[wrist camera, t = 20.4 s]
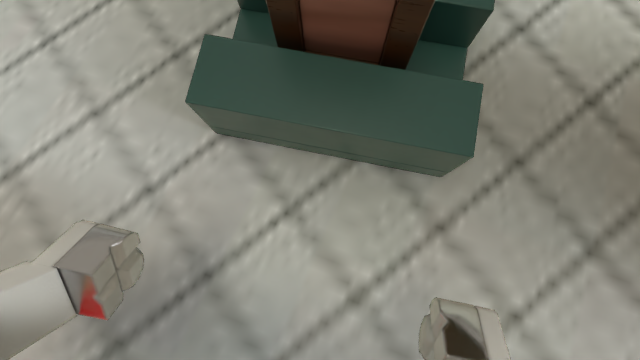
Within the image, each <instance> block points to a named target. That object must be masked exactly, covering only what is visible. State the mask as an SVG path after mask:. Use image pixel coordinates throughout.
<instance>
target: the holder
mask: <svg viewBox="0 0 640 360" xmlns="http://www.w3.org/2000/svg"><path fill="white" fill-rule="evenodd" d="M238 3H239V5H240V8H241V10H240V14H239V17H238V21H237V25H236V28H235V32H234V36H233V39H230V38H224V37H219V36H213V35H208V34H205V35H204V38H203V42H202V45H201V49H200V52H199V56H198V59H197V63H196V66H195V69H194V73H193V76H192V80H191V83H190V87H189V90H188V94H187V97H186V100H185V102H186V103H187V104H188V105H189V106H190V107H191V108H192V109H193V110H194V111H195V112H196V113H197V114H198V115H199V116H200V117H201V118H202V120H203V121H204V122H205V123H206V124H207V125H209V126H210V127H211V128H212V129H213V130H214V131H215V132H216V133H219V134H224V135H229V136H234V137H239V138H245V139H250V140H255V141H260V142H265V143H270V144H275V145H280V146H285V147H290V148H296V149H301V150H306V151H311V152H316V153H321V154H326V155H331V156H336V157H341V158H347V159H352V160H357V161H362V162H367V163H372V164H377V165H382V166H387V167H392V168H398V169H403V170H408V171H413V172H418V173H423V174H428V175H433V176H438V177H442V176H444V175H445V174H447V173H448V172H451V171H452V170H454V169H455V168H457V167H459V166H460V165H462V164H463V163H465V162H466V161H468V160H470V159H471V158H473V157H474V150H475V142H476V135H477V128H478V121H479V113H480V106H481V99H482V91H483V84H481V83H476V82H470V81H464V80H463V74H464V67H465V61H466V54H467V47H468V46H469V45H470V44H471V42H472V41H473V39H474V38H475V36H476V35H477V33H478V32H479V31H480V29H481V28H482V26H483V25H484V23H485V22H486V20H487V19H488V17H489V16H490V15H491V13H492V12H493V10H494V3H495V0H435V3H434V5H433V7H432V10H431V12H430V14H429V17H428V19H427V21H426V23H425V26H424V28H423V30H422V33H421V35H420V37H419V40H418V42H417V44H416V47H415V49H414V51H413V54H412V56H411V58H410V61H409V63H408V65H407V68H406V70H403V69H397V68H392V67H386V66H381V65H375V64H370V63H364V62H358V61H353V60H347V59H342V58H336V57H330V56H325V55H319V54H314V53H308V52H303V51H297V50H291V49H286V48H280V47H278V46H277V42H276V38H275V34H274V31H273V27H272V23H271V19H270V15H269V11H268V7H267V3H266V0H238Z"/></svg>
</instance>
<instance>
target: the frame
mask: <svg viewBox="0 0 640 360" xmlns="http://www.w3.org/2000/svg"><path fill="white" fill-rule="evenodd" d="M266 3H267V7H268V11H269V15H270V19H271V23H272V27H273V31H274V34H275V38H276V42H277V46H278V47H280V48H286V49H291V50H297V51H303V52H308V53H314V54H319V55H325V56H330V57H336V58H342V59H347V60H353V61H358V62H364V63H370V64H375V65H381V66H386V67H392V68H397V69H403V70H406V68H407V65H408V63H409V61H410V58H411V56H412V54H413V51H414V49H415V47H416V44H417V42H418V40H419V37H420V35H421V33H422V30H423V28H424V26H425V23H426V21H427V19H428V17H429V14H430V12H431V10H432V7H433V5H434V3H435V0H266Z"/></svg>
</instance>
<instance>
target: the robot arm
mask: <svg viewBox="0 0 640 360" xmlns="http://www.w3.org/2000/svg"><path fill="white" fill-rule="evenodd" d="M139 243H140V239H139V235H138V233H135V232H132V231H128V230H124V229H120V228H116V227H112V226H108V225H104V224H99V223H95V222H90V221H86V220H81V221H79V222H76V223H75V224H74V225H73V226H72V227H70V228H69V229H68V230H67V231H66V232H65V233H64V234H63V235H62V236H60V237H59V238H58V239H57V240H56V241H55V242H54V243H53V244H52V245H50V246H49V247H48V248H47V249H46V250H45V251H44V252H43V253H42V254H40V255H39V256H38V257H37V258H36V259H35V260H34V261H33V262H28V261H26V262H23V263H21V264H18V265H15V266H13V267H10V268H8V269H5V270H3V271H0V360H8V359H10V358H11V357H13V356H15V355H16V354H18V353H19V352H21V351H22V350H24V349H26V348H27V347H29V346H30V345H32V344H34V343H35V342H37V341H38V340H40V339H41V338H43V337H45V336H46V335H48V334H49V333H51V332H53V331H54V330H56V329H57V328H59V327H61V326H62V325H64V324H65V323H67V322H68V321H70V320H72V319H73V318H75V317H76V316H77V315H76V314H78V315H83V316H88V317H93V318H97V319H102V320H107V321H108V320H109V318H110V317H111V316H112V314H113V313H114V312H115V310H116V309H117V308H118V306H119V305H120V304H121V302H122V301H123V291H125V290H127V289H129V288H131V287H133V286H134V285H135V283H136V282H137V280H138V279H139V277H140V275H141V272H142V270H143V266H144V257H143V253H142V252H141V251H140V250H139V249H138V248H137V246H138V244H139ZM419 352H420V354H421V355H422V357H423V358H424V360H511V358H510V355H509V351H508V348H507V344H506V341H505V337H504V334H503V330H502V327H501V323H500V320H499V316H498V314H497V312H496V311H495V310H492V309H487V308H483V307H478V306H473V305H470V304H465V303H460V302H456V301H451V300H446V299H441V298H434V299H433V300H432V302H431V304H430V314H428V315H426V316H424V319H423V321H422V323H421V327H420V332H419Z"/></svg>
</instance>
